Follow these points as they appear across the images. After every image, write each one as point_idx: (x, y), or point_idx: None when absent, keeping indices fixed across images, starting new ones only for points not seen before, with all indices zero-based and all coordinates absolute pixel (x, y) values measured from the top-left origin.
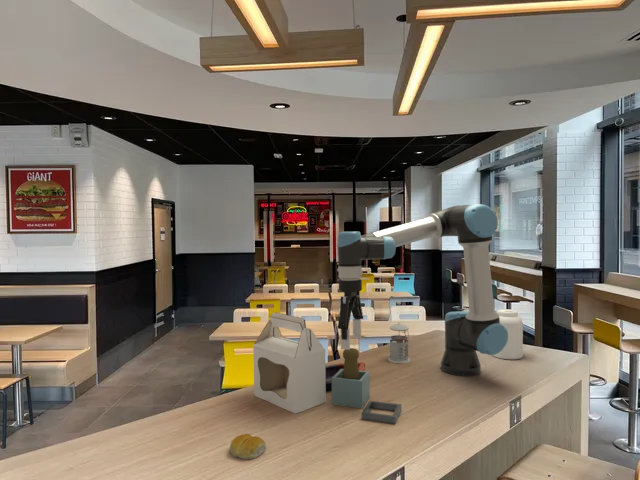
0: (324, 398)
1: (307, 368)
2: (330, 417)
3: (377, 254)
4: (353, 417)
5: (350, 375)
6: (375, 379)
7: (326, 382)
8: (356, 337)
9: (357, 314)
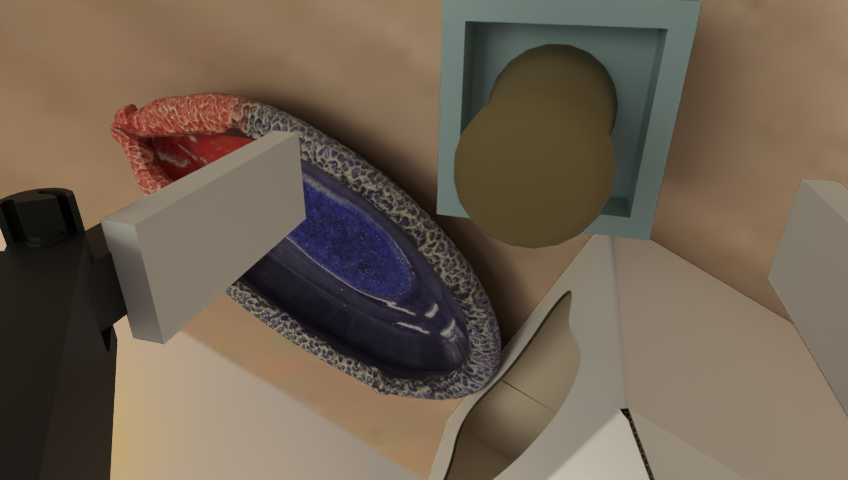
0: None
1: (788, 434)
2: (836, 149)
3: None
4: (832, 14)
5: (611, 118)
6: (209, 21)
7: (463, 260)
8: (297, 185)
9: (86, 324)
